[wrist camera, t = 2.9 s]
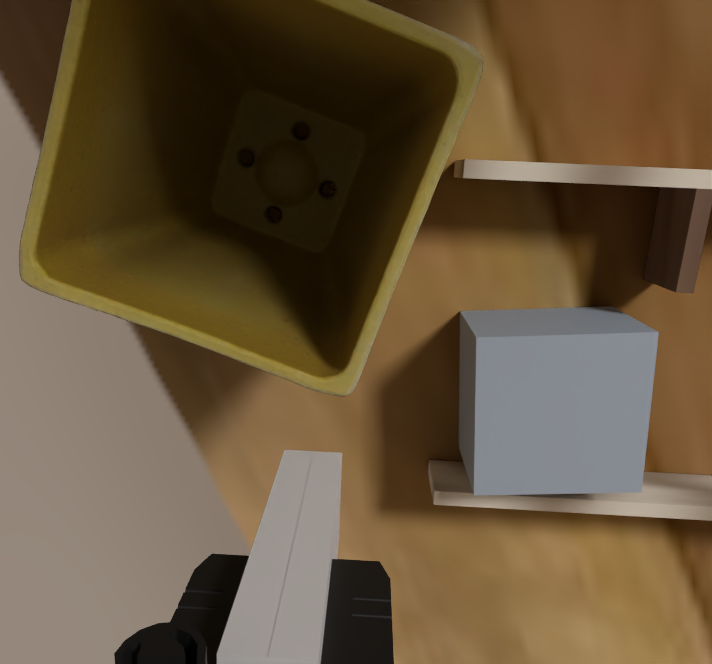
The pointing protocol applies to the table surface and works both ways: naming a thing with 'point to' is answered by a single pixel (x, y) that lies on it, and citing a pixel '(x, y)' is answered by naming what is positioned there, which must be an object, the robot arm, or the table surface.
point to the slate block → (554, 400)
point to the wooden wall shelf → (663, 267)
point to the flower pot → (244, 171)
